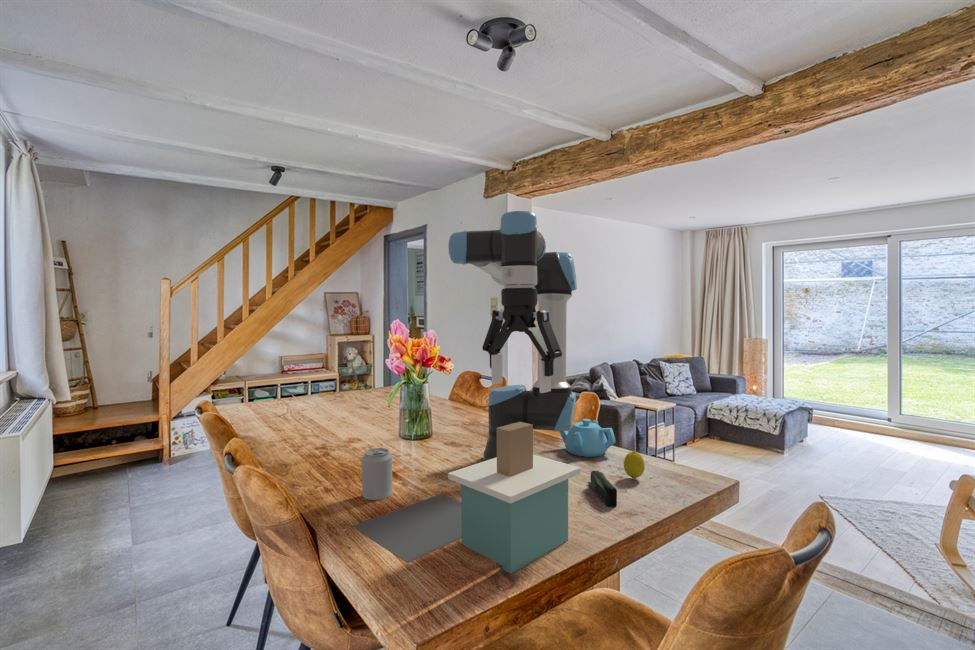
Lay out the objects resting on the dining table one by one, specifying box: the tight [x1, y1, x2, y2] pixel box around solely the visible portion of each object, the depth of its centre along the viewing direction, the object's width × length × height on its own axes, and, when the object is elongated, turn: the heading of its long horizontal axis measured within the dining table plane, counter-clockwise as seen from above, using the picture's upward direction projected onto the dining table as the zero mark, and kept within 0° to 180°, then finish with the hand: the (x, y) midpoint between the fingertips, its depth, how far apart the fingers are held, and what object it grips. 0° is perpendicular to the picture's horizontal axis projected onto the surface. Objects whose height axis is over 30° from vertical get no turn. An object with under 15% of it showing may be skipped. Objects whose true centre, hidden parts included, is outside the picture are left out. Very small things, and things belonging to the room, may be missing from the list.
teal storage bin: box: [460, 479, 569, 575], centre depth 97 cm, size 13×17×14 cm
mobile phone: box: [587, 470, 618, 508], centre depth 122 cm, size 5×3×15 cm
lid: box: [447, 422, 581, 503], centre depth 97 cm, size 17×21×10 cm
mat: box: [351, 493, 462, 563], centre depth 106 cm, size 21×25×1 cm
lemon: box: [623, 450, 646, 480], centre depth 133 cm, size 6×6×8 cm
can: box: [361, 447, 393, 501], centre depth 122 cm, size 8×8×12 cm
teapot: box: [558, 418, 617, 458], centre depth 158 cm, size 15×15×11 cm
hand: (520, 387), depth 102 cm, fingers open, 13 cm apart
